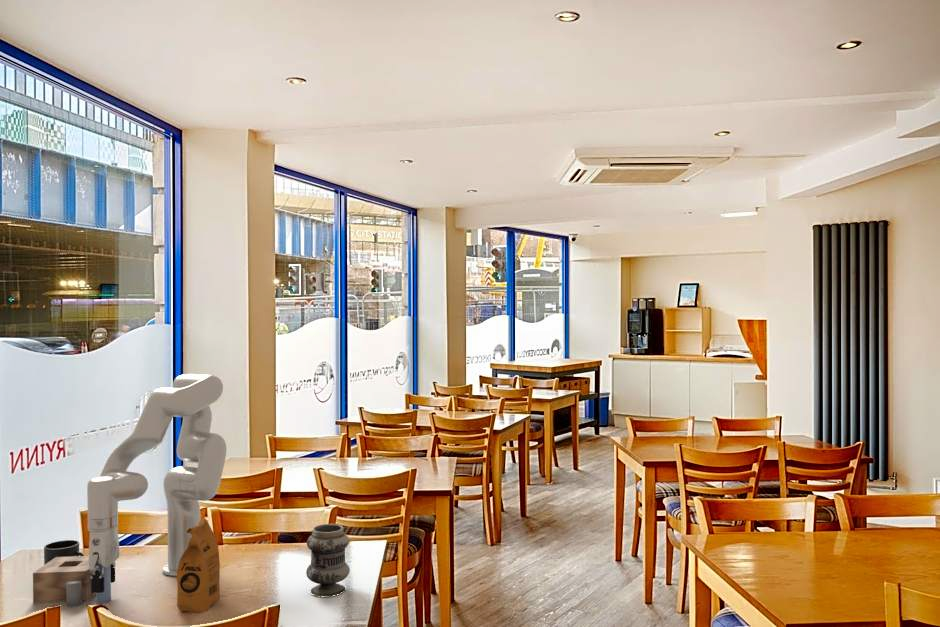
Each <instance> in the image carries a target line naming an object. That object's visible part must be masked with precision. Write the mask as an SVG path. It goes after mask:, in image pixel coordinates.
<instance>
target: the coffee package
mask: <svg viewBox="0 0 940 627" xmlns="http://www.w3.org/2000/svg"><path fill="white" fill-rule="evenodd" d="M187 533H191V536H192V537H191V539H190V541H189V544H188V547H187V549H186V550H185V552H184V553H183V555H182V557H181V558H180V561H179V564H178V569H177V576H176V580H177V581H176V584H177V595H176V596H177V599H176V600H177V602H176V606H177V608H178V611H179V612H181V613H182V612H189V613H193V612H195V613H200V612H201V613H204V612H203V611H205V612H208V610H210V608H211V606H213V605H215V604H217V603H218V601H219V598H220V596H221V594H220V593H221V592H220V591H221V590H220V577H221V576H220V575H221V574H220V569H221V564H220V563H221V562H220V552H219V551H220V550H219V543H218V539H217V536H216V534H215V532H214V531H213V530H212V528H211V526H210V524H209V523H208V521H207V518H205V517H203V518H200V521H199V526H195V527H192V528H189V529H188V530H187Z"/></svg>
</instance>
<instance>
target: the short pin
mask: <svg viewBox="0 0 940 627" xmlns="http://www.w3.org/2000/svg"><path fill="white" fill-rule="evenodd" d="M66 596H67V601H66V607H68V608H74V606H76V607H78V605H79V606H80V605H82V604H81V603H82V601H83V600H81V581H80V580H74V581H70V582H67V583H66Z"/></svg>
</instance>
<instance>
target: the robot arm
mask: <svg viewBox="0 0 940 627" xmlns="http://www.w3.org/2000/svg"><path fill="white" fill-rule="evenodd" d="M223 391H224V385H223V381H222V380H221V379H220V378H219V377H218V376H215V375H213V374H198V373H196V374H195V373H185V374H181V375H178V376H177V377H175V378H174V380H173V383H172V387H160V388H156V389H154V390H153V391H152V392H151V393H150V394H149V396H148V399H147V401H146V403H145V406H144V407H143V409H142V412H141V414H140V416H139V419H138V421H137V423H136V426H135V428H134V429H133V431H132V433H131V434H130V435H129V436H128V437H127V438H125V439H124V441H123V440H122V442H121V443H120V444H119V445H118V446H117V447H116V448H115V449H114V450H113V451H112V453H111V454H110V455H109V457H108V458H107V460H106V463H105V464H104V467H103V468H102V470H101V472H100V476H97V477H93V478H91V479H89V480H88V482H87V487H86V488H87V489H86V490H87V493H86V494H87V496H86V497H87V499H86V500H87V531H89V542H88V556H89V566H90V567H89V570H90V574H91V592H92V593H94V594H96V593H103V592H104V577H103V572H104V566H105V567H108V566H110V565H111V584H113V583H115V582H116V565H117V564H116V561H117V560H118V559H119V558H120V541H119V529H118V527H119V511H118V510H119V506H118V505H119V504H118V502H120V501H121V502H123V501H131V500H136V499H139V498H141V497H142V496H144V495H145V493H146V492H147V490H148V488H149V482H148V479H147V478H146V477H145V476H144V475H143V474H141V473H139V472H134V471H133V472H132V471H128V469H129V467H130V466H131V464H132V463H133V461H134V460H135V459H137V458H138V457H139V456H141V455H142V454H144V453H146V452H148V451H150V450H153V449H155V448H157V447H158V446H160V445H161V444H162V443H163V441H164V438H165V435H166V434H167V430H168V429H169V426H170V424H171V421H172V420H173V417H175V418H182V424H181V428H180V432H179V437H178V440H177V446H176V455H177V458H178V459H179V460H180V461H183V462H187V463H192V464H193V463H195V464H197V467H194V466H193V467H192V466H185V465H180V466H176V467H173V468H171V469H170V470H168V472H167V473H166V474H165V477H164V478H163V490H164V491H163V492H164V495H165V500H166V508H167V509H166V510H167V513H166V514H167V520H166V521H167V564H166V565H165V564H164V566H162V573H163V574H164V575H166V576H172V577H177V569H178V564H179V561H180V558H181V557H182V555H183V553H184V552H185V550H186V549H187V547H188V544H189V541H190V539H191V537H192V536H191V533H187V530H188V529H189V528H192V527H195V526H199V521H200V520H201V507H200V503H199V501H201V502H206V501H209V500H211V499H213V498H214V497H215V496H216V495H217V492H218V490H219V487H220V484H221V480H222V476H223V471H224V466H225V462H226V457H227V444H226V440H225V439H224V437H223V436H221V435H220V434H219V433H218V434H217V433H214V432H211V427H212V426H211V425H212V421H213V415H212V413H213V412H212V410H211V406H210V405H212V404H213V403H216V402H217V401H218V400H219V399H220V398H221V396H222V394H223ZM97 564H101V565H102V566H97ZM97 569H100V572H99V571H98V570H97Z"/></svg>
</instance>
